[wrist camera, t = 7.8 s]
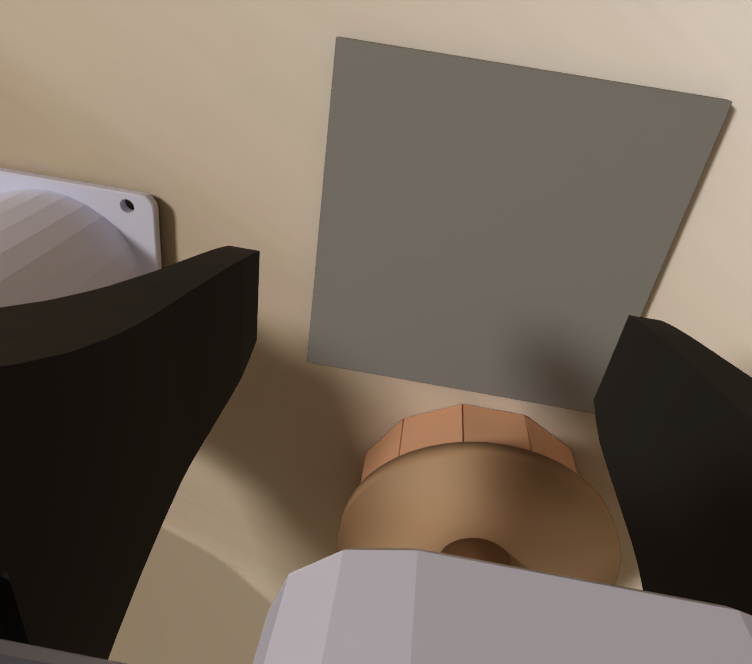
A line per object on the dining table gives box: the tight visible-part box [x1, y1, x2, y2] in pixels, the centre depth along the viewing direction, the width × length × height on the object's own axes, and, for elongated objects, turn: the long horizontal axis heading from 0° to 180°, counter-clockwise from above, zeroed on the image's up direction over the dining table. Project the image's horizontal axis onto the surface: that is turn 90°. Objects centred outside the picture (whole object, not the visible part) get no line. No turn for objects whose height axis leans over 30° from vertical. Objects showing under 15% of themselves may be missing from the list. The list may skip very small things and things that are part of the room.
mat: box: [307, 37, 732, 413], centre depth 21 cm, size 12×12×1 cm
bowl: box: [360, 404, 578, 483], centre depth 25 cm, size 10×10×4 cm
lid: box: [337, 442, 621, 585], centre depth 22 cm, size 11×11×4 cm
